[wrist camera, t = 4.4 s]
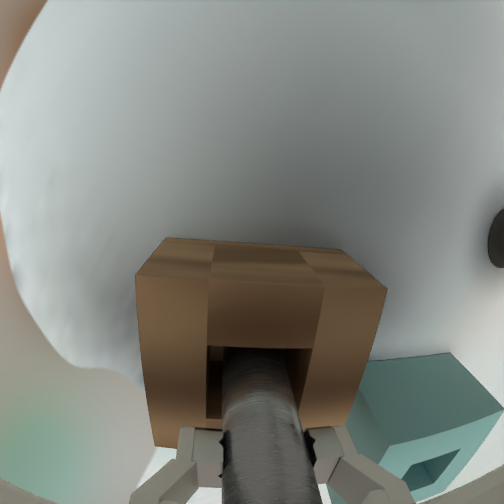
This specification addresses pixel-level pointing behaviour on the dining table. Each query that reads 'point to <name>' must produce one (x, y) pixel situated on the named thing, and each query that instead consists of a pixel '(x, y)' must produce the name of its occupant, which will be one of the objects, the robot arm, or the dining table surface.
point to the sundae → (497, 241)
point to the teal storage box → (420, 420)
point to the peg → (262, 432)
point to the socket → (251, 326)
